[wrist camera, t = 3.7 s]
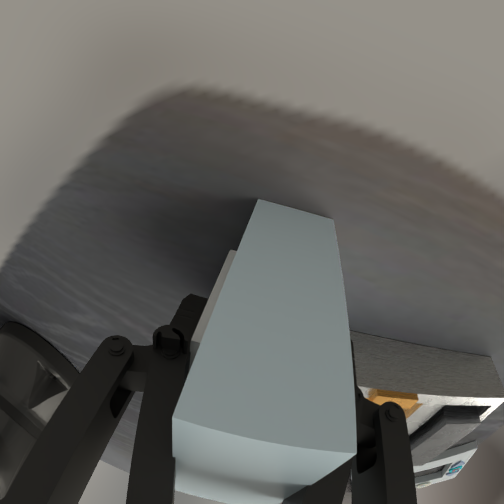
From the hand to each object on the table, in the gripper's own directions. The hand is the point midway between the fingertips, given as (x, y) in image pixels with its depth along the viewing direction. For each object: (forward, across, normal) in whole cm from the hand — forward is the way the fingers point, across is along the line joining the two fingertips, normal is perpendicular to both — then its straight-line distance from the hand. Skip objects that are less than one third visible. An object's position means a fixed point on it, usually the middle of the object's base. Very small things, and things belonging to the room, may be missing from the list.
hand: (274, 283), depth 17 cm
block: (+1, 0, 0) cm, 1 cm away
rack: (+1, +12, -9) cm, 15 cm away
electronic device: (+2, +30, -30) cm, 42 cm away
